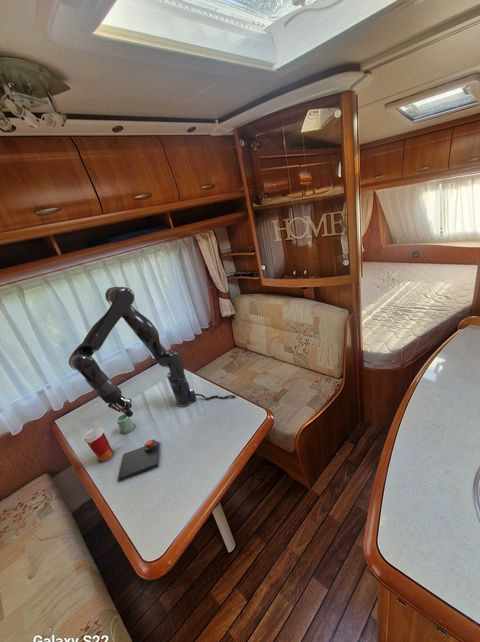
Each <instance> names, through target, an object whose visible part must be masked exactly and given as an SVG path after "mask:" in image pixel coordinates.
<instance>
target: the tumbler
mask: <svg viewBox="0 0 480 642" xmlns="http://www.w3.org/2000/svg"><path fill="white" fill-rule="evenodd" d="M115 421H116V423H117V425H118V427H119V429H120V430H121V432H122V433H123V434H128V433H130V432H132V430H133V429H135V425H134V423H133V420H132V418H131V417H128V416H127V415H126V414H125V413H122V414H120V415H119V416H117V417H116V419H115Z"/></svg>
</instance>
